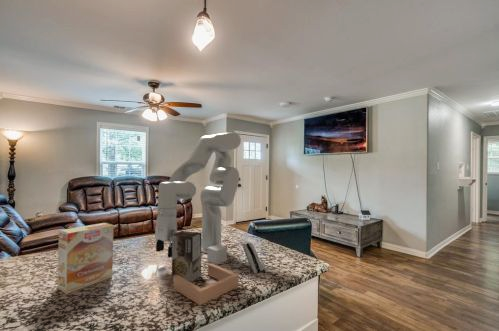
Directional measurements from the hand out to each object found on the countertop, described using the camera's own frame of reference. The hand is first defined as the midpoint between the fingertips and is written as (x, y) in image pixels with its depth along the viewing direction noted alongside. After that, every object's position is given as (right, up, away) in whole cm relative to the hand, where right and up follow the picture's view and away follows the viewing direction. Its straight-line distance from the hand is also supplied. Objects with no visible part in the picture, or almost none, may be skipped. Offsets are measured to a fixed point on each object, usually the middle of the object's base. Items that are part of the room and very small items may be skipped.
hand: (165, 253), depth 101 cm
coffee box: (+11, -6, -9) cm, 15 cm away
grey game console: (+36, -6, +3) cm, 37 cm away
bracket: (+20, -5, -17) cm, 27 cm away
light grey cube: (+20, -6, +7) cm, 22 cm away
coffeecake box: (-23, -5, -15) cm, 28 cm away
